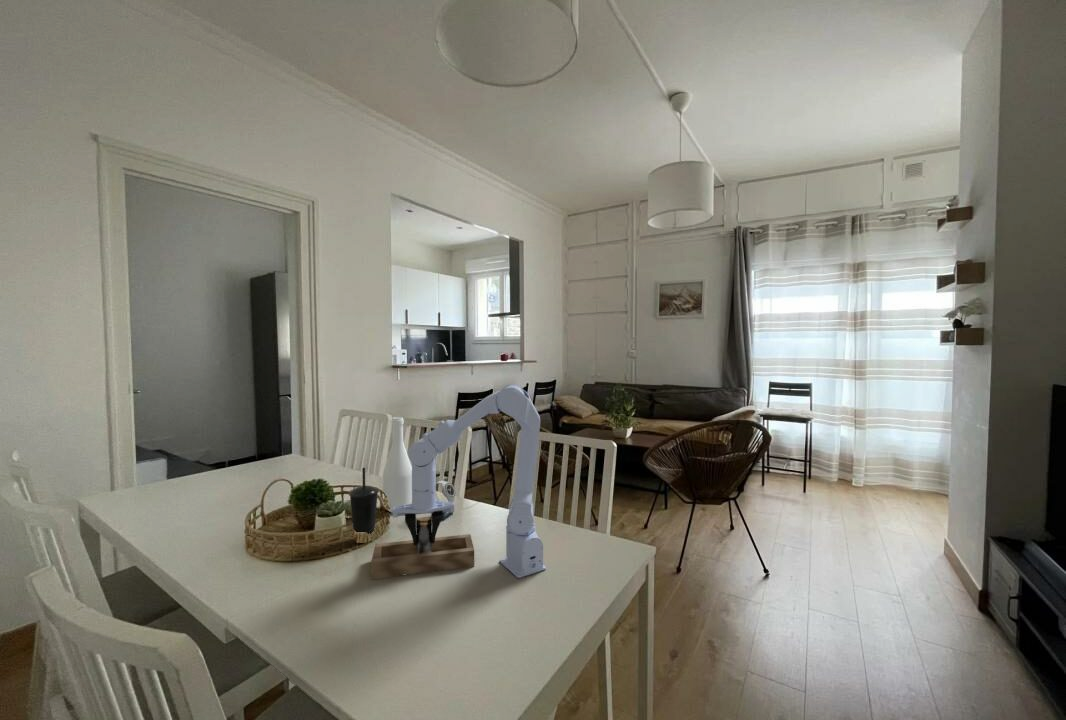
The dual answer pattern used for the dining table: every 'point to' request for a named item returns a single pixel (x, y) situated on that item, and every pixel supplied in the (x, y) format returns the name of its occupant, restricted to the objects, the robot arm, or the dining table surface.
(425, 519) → the battery cell
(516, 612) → the dining table surface
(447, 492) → the watch
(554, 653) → the dining table surface
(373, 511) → the drinking cup
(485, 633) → the dining table surface
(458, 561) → the trough
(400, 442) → the wine bottle
